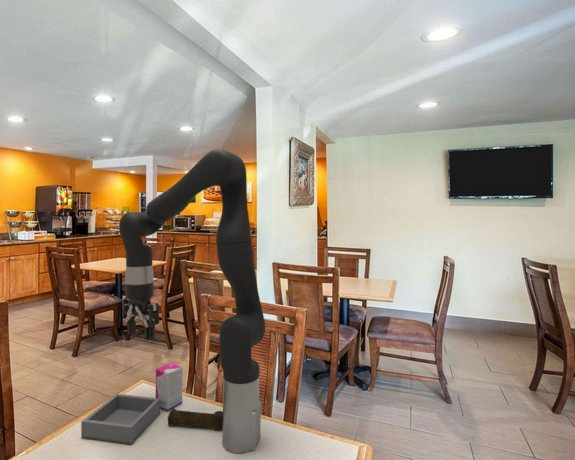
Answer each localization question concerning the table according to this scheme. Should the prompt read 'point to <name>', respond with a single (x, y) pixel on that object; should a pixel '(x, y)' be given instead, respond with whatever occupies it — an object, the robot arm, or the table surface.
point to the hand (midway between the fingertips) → (140, 336)
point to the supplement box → (169, 386)
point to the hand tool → (196, 419)
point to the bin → (121, 419)
